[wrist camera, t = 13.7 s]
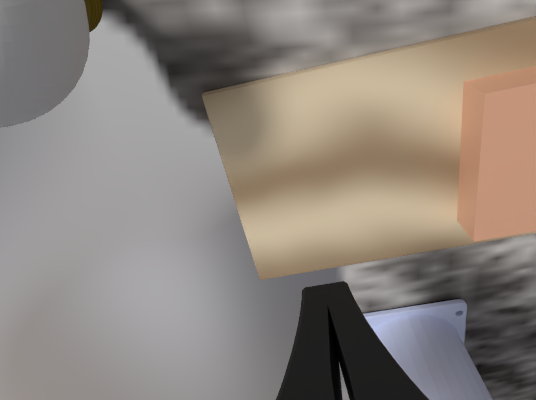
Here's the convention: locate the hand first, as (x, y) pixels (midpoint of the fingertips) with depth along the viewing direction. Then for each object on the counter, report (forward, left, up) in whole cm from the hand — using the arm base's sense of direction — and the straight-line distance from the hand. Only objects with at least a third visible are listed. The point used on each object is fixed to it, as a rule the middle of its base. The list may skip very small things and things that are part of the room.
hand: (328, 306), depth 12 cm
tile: (-1, -8, -8) cm, 12 cm away
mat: (-1, -5, -10) cm, 11 cm away
